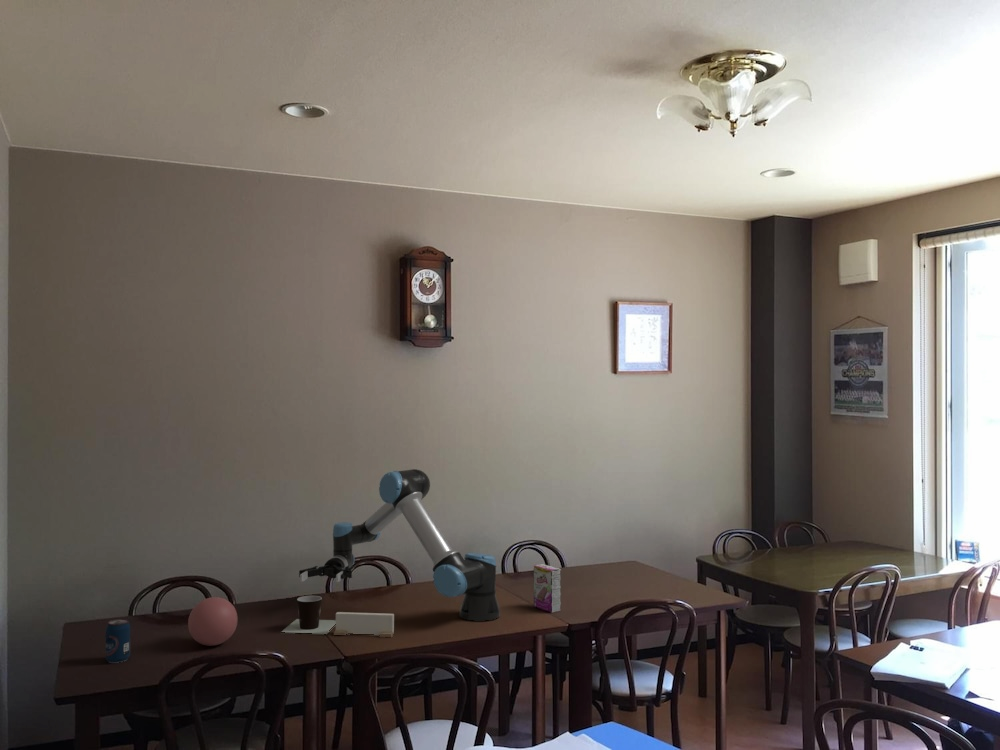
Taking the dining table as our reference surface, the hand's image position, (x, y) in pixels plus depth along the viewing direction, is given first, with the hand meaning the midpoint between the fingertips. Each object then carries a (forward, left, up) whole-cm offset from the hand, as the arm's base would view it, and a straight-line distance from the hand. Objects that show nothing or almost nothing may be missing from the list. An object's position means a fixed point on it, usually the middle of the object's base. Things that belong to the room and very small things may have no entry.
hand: (318, 578), depth 298 cm
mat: (0, +10, -15) cm, 18 cm away
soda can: (+47, +51, -15) cm, 71 cm away
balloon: (+26, +31, -15) cm, 43 cm away
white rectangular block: (-22, +16, -15) cm, 31 cm away
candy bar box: (-83, -23, -15) cm, 88 cm away
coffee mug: (-1, +10, -15) cm, 18 cm away
